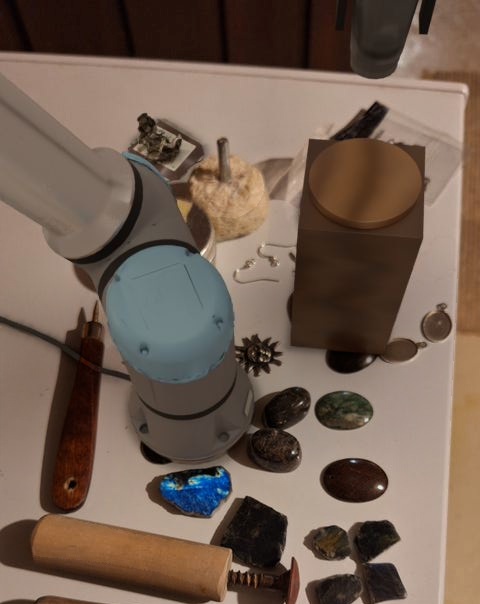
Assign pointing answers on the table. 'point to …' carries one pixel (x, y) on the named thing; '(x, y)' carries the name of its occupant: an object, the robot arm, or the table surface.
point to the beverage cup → (379, 35)
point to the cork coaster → (364, 183)
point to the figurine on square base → (166, 147)
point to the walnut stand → (351, 272)
